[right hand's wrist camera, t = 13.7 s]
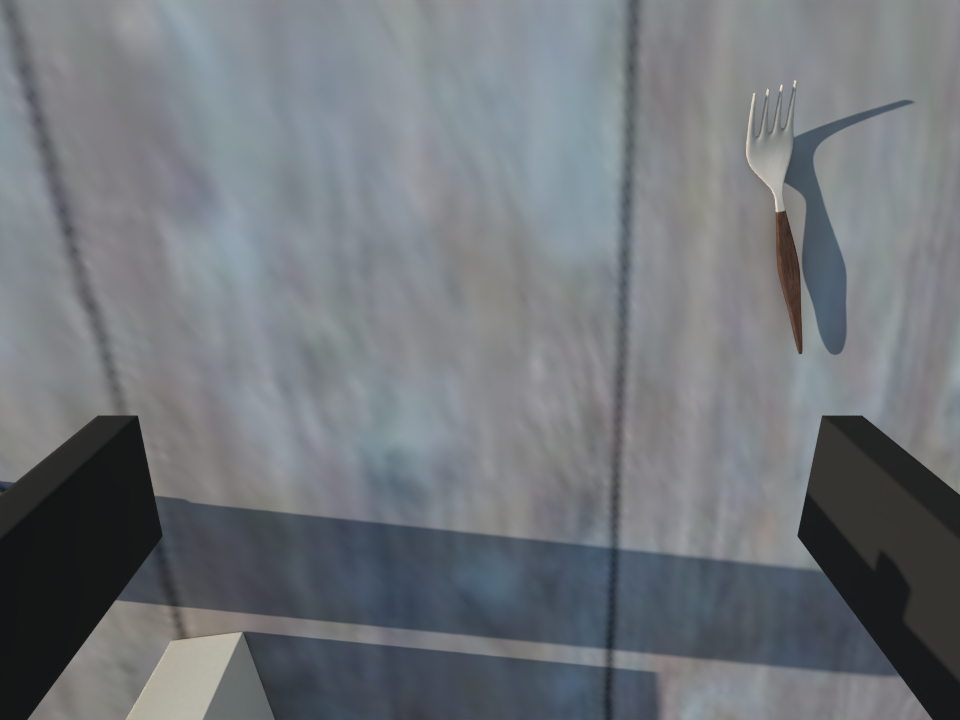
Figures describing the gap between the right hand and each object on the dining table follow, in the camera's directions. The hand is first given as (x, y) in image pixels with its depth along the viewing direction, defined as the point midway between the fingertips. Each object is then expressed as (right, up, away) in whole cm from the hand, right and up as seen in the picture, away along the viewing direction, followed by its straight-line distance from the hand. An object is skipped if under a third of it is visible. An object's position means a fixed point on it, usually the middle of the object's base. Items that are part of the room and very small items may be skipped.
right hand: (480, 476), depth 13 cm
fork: (+18, +10, +26) cm, 33 cm away
